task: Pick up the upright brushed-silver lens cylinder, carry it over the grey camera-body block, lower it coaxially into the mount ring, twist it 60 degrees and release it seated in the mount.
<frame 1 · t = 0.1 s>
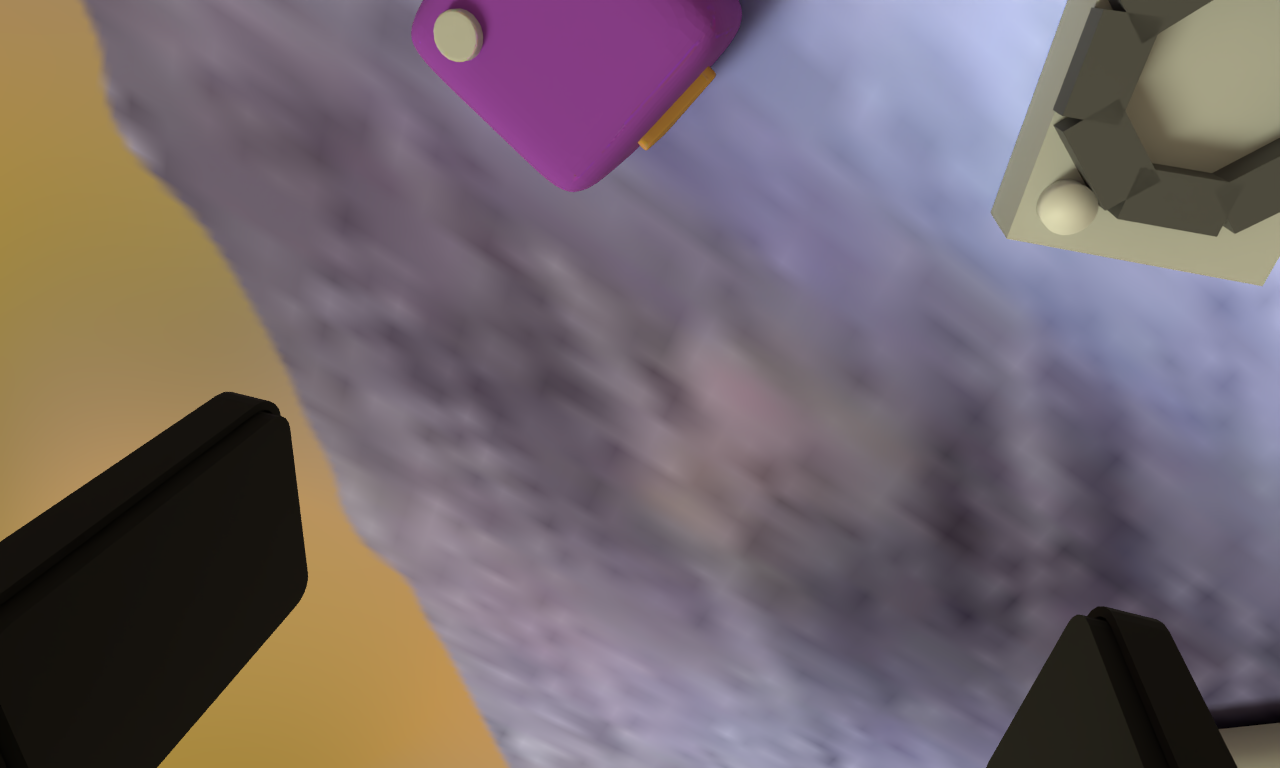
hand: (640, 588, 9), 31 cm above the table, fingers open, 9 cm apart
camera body: (1175, 70, 31), on the table
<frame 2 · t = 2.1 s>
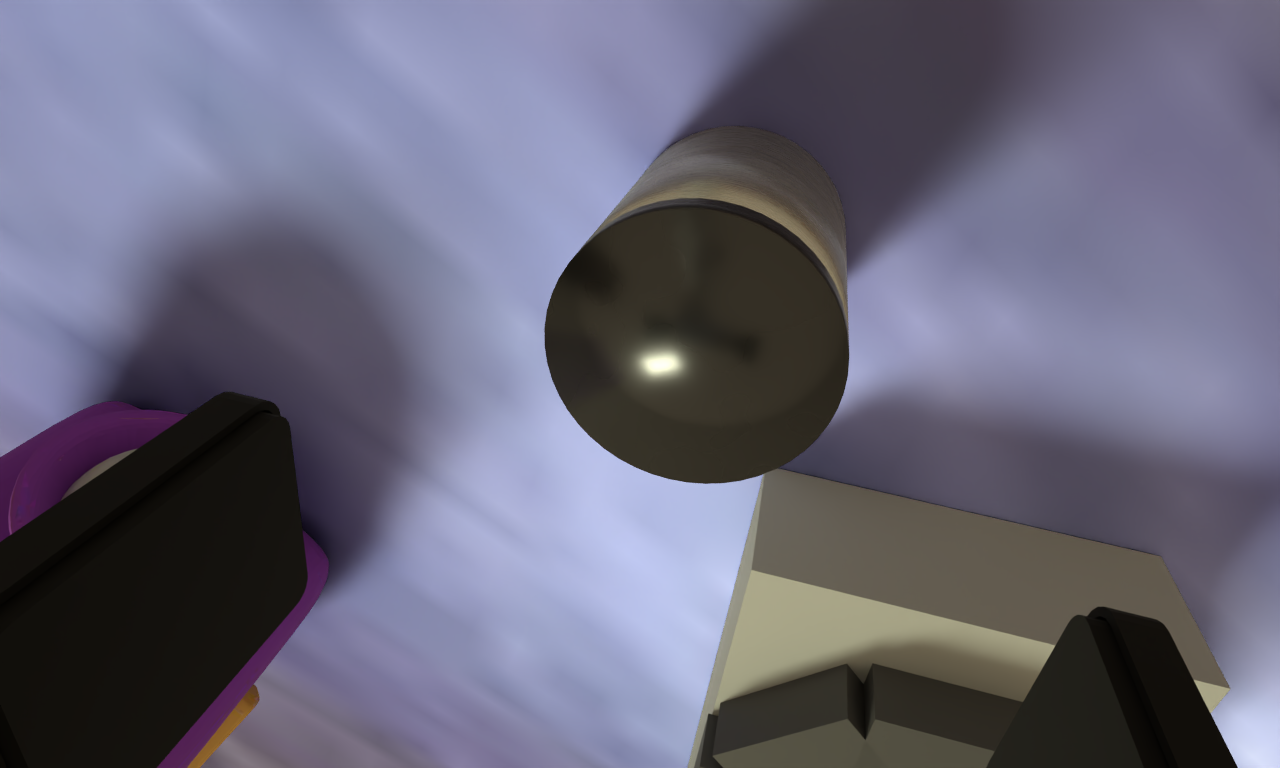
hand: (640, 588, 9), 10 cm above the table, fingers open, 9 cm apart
toy camera: (213, 501, 27), on the table
lens: (733, 238, 18), on the table
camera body: (880, 682, 23), on the table
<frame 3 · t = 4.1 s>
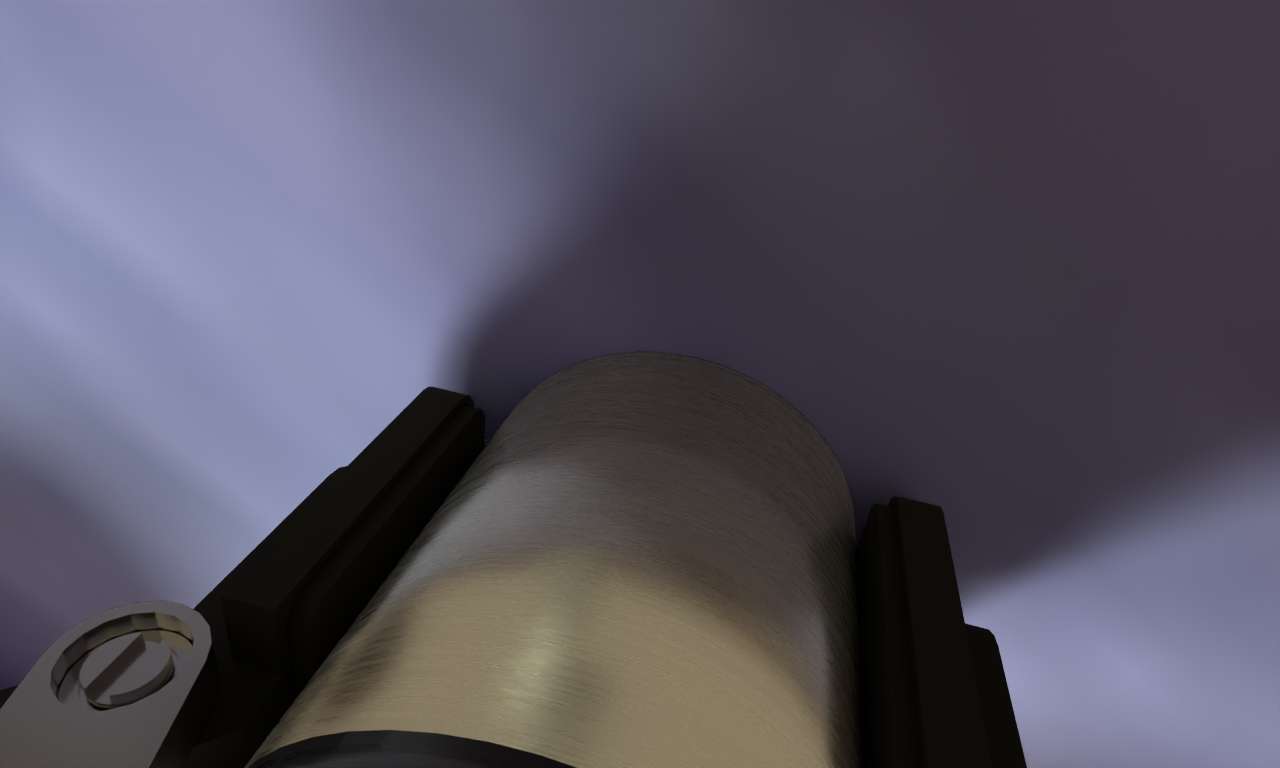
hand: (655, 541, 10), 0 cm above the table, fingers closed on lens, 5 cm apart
lens: (663, 519, 10), on the table, touching gripper
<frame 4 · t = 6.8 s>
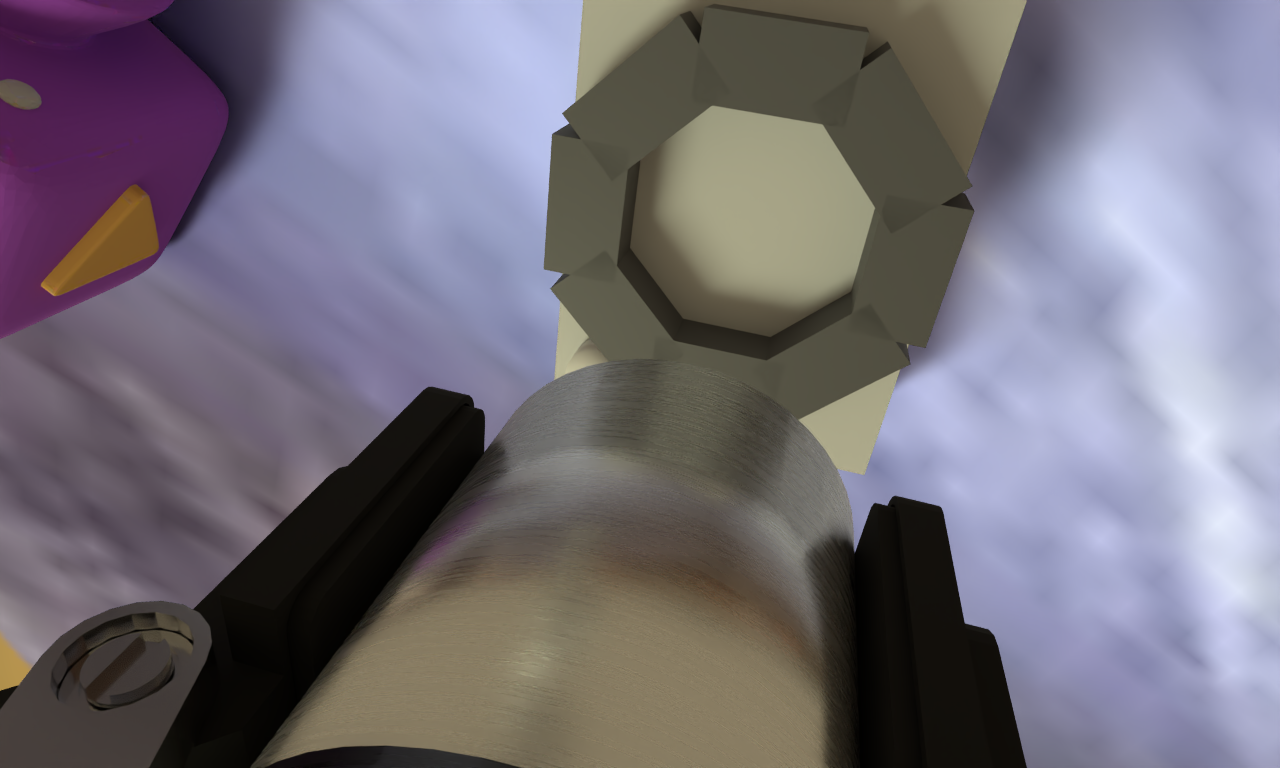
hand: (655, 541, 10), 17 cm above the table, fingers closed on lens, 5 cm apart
toy camera: (119, 66, 27), on the table
lens: (661, 525, 10), point 16 cm above the table, touching gripper
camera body: (760, 186, 24), on the table
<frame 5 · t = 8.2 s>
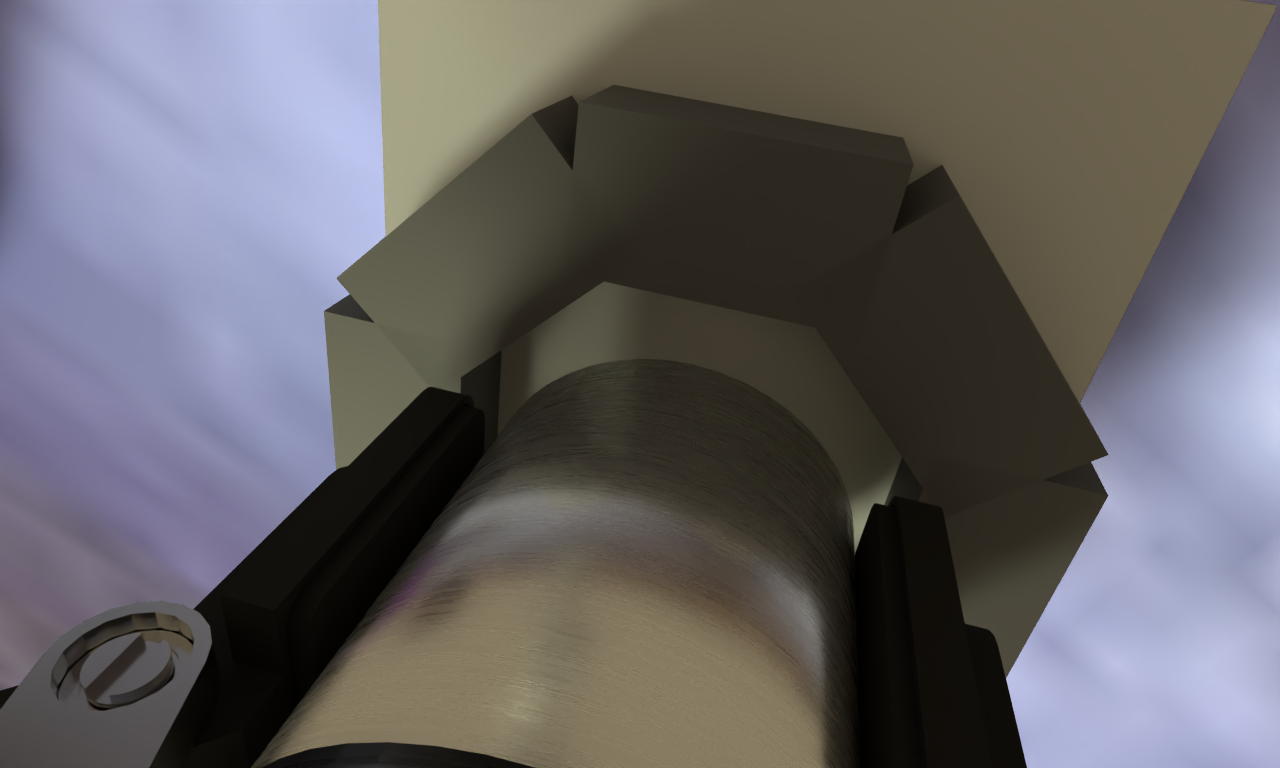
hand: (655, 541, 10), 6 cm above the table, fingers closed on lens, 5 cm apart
lens: (662, 525, 10), point 6 cm above the table, touching gripper
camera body: (720, 342, 15), on the table
when the fingers open (6 cm above the table, at t = 9.5 s): lens drops 2 cm, resting on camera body.
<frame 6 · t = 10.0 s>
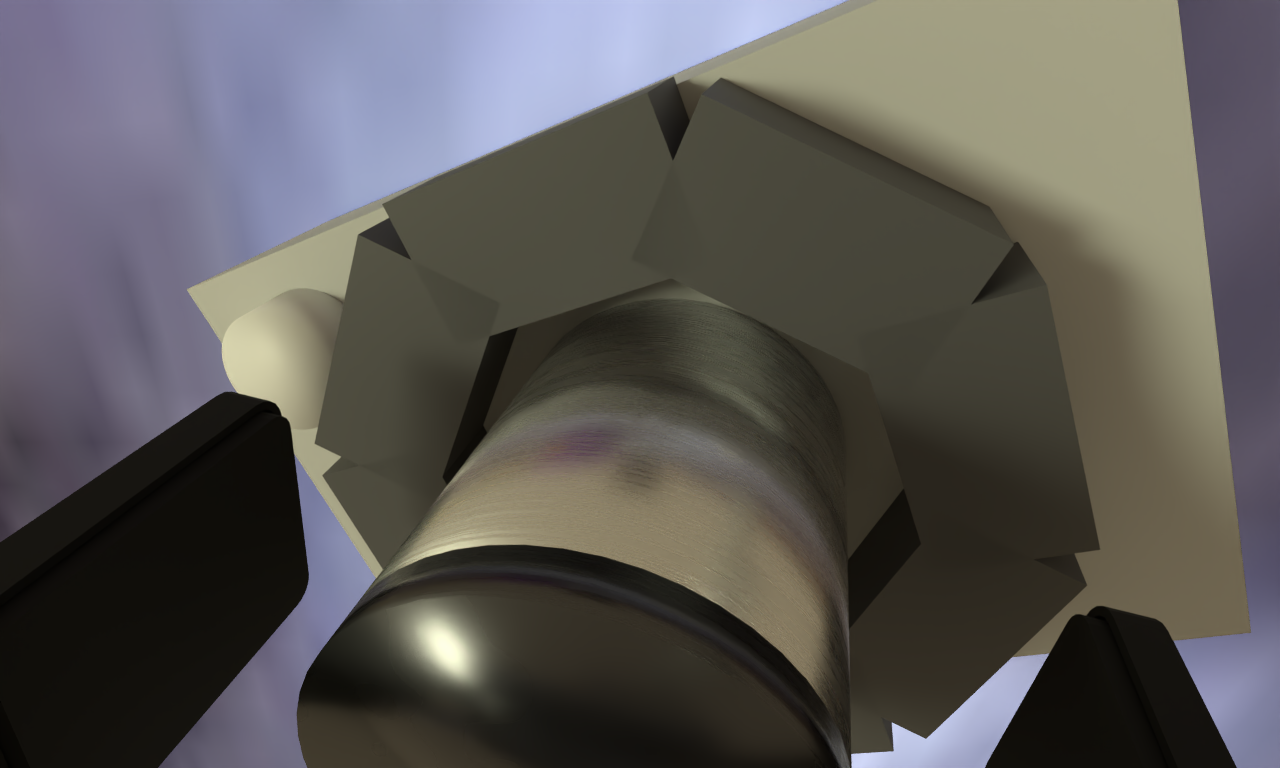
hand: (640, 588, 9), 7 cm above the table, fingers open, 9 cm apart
lens: (678, 449, 12), point 4 cm above the table, touching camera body
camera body: (719, 343, 15), on the table
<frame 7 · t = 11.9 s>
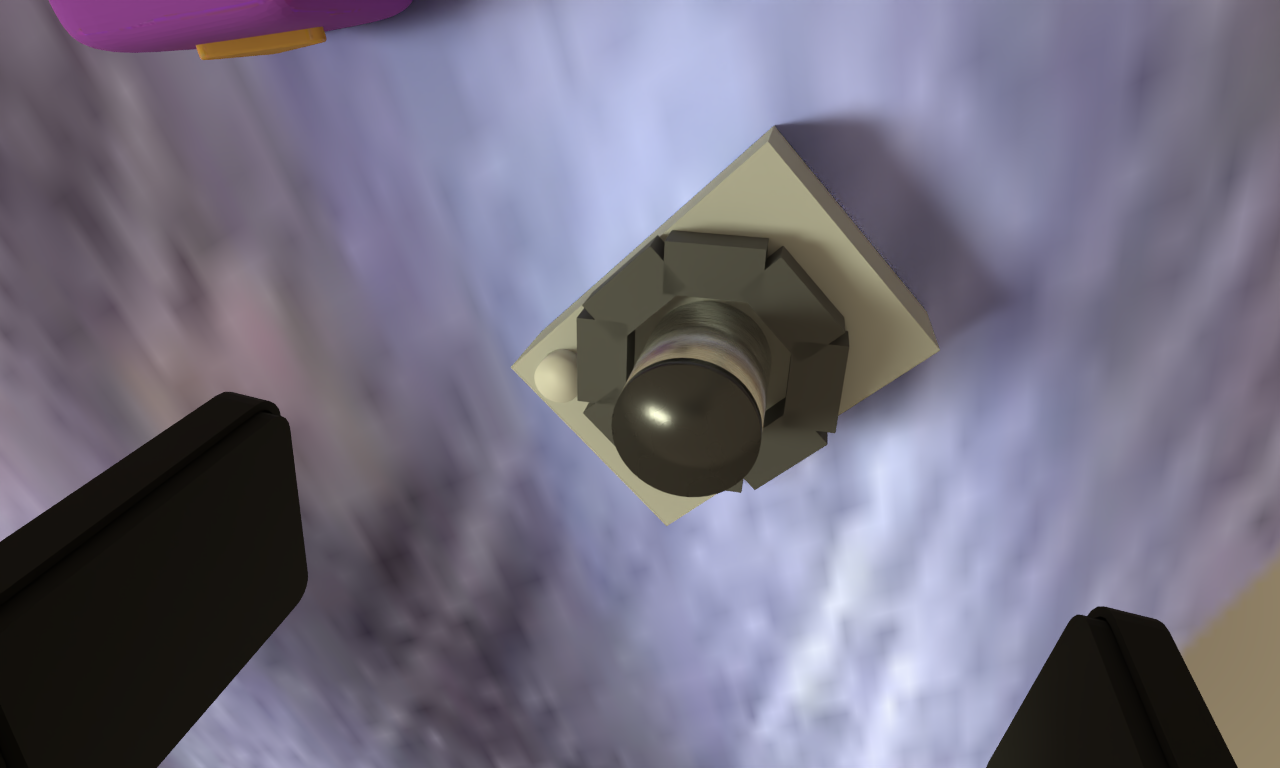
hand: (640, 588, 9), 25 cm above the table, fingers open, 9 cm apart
lens: (708, 359, 30), point 4 cm above the table, touching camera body
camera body: (721, 322, 34), on the table
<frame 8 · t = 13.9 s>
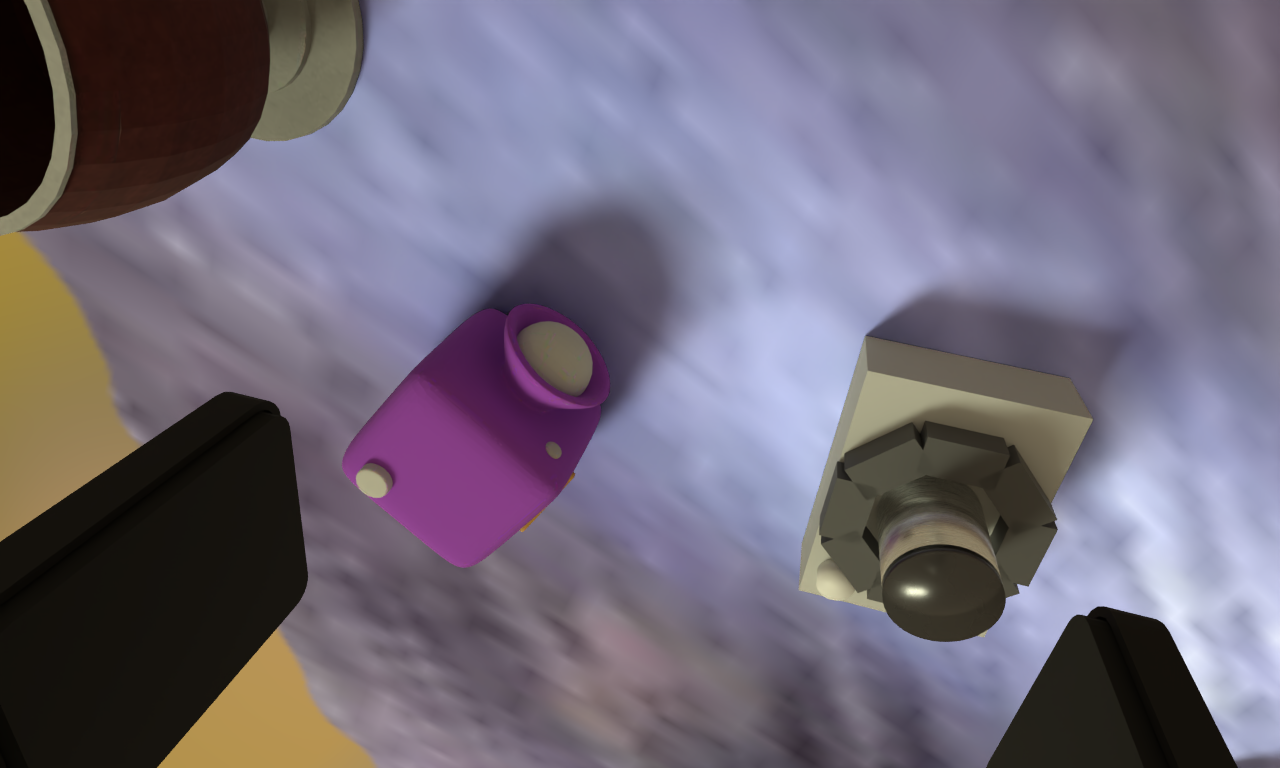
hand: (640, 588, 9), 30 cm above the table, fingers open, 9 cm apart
toy camera: (525, 375, 45), on the table
lens: (928, 514, 38), point 4 cm above the table, touching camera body
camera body: (922, 469, 42), on the table
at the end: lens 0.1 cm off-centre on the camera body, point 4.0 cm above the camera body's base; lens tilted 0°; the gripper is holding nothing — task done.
